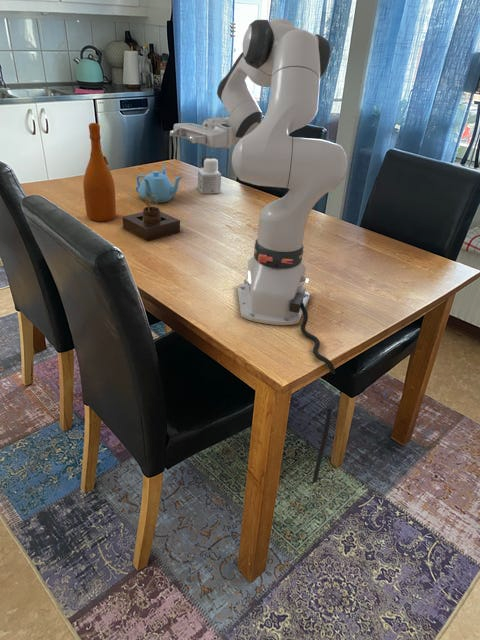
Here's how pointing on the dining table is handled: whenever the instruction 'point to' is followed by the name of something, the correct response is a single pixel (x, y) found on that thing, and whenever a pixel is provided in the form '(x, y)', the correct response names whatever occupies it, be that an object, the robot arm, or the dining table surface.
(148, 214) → the utensil holder
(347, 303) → the dining table surface
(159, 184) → the teapot
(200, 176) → the container
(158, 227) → the socket block
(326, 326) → the dining table surface
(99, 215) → the wine bottle
